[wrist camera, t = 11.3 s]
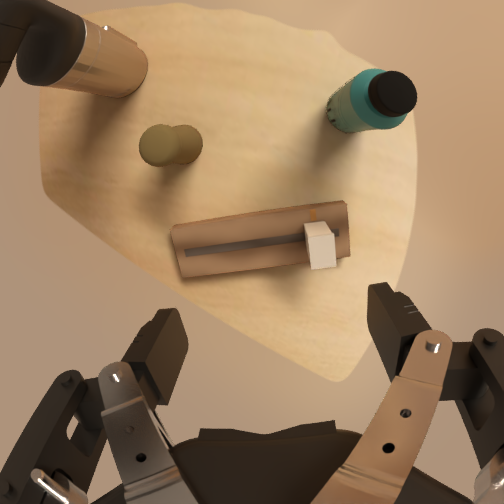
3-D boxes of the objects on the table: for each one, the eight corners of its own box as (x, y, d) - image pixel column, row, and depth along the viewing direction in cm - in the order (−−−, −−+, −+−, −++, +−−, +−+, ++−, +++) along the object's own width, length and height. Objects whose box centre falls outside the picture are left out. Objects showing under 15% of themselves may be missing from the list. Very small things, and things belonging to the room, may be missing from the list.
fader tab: (302, 223, 41) (307, 237, 34) (325, 220, 40) (334, 234, 34) (306, 251, 42) (311, 269, 36) (327, 248, 42) (336, 266, 35)
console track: (175, 225, 45) (169, 229, 43) (342, 200, 42) (346, 204, 39) (186, 271, 48) (182, 278, 45) (346, 250, 44) (350, 256, 42)
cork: (185, 172, 42) (157, 182, 32) (156, 147, 41) (122, 150, 31) (211, 141, 40) (190, 141, 30) (181, 116, 39) (152, 109, 29)
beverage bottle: (374, 118, 37) (445, 106, 18) (341, 143, 39) (394, 144, 20) (347, 83, 35) (401, 42, 17) (313, 107, 37) (345, 77, 19)
